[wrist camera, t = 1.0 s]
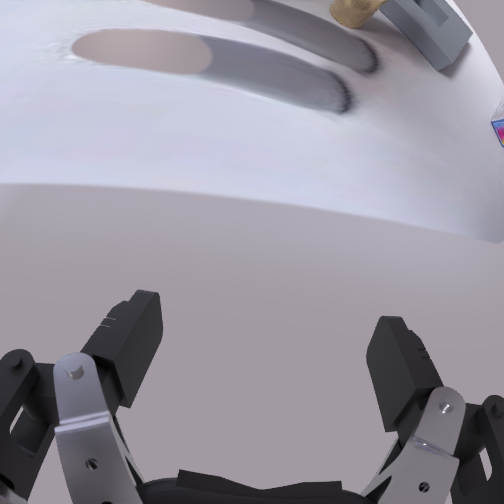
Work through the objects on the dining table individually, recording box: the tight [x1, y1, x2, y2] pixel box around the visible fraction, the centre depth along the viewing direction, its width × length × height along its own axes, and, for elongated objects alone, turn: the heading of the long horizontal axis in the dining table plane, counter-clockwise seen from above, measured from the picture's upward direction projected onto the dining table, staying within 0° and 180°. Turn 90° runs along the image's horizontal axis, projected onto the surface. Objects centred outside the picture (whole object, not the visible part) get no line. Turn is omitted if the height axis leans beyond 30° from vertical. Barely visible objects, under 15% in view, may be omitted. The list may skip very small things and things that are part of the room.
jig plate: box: [379, 0, 473, 71], centre depth 27 cm, size 16×16×4 cm
